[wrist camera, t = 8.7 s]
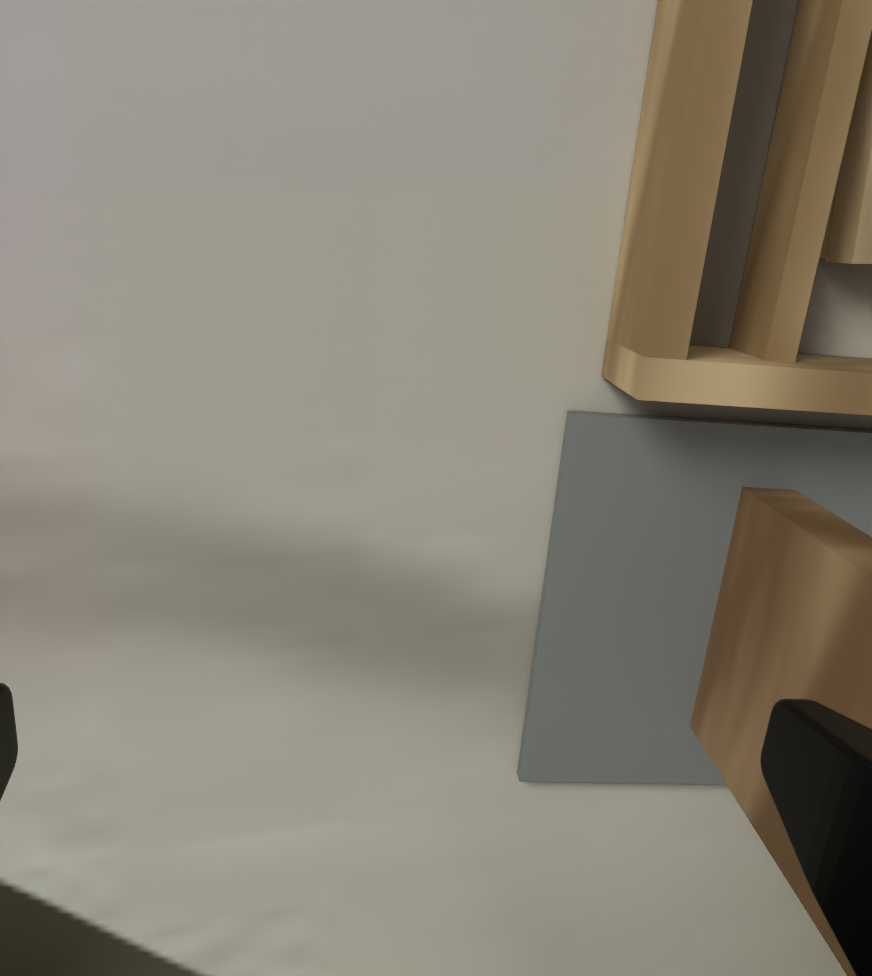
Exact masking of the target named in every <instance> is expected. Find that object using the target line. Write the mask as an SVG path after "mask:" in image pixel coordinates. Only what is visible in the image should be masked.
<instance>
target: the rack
mask: <svg viewBox="0 0 872 976" xmlns="http://www.w3.org/2000/svg"><path fill="white" fill-rule="evenodd" d="M752 2H753V0H658V4H657V11H656V18H655V24H654V31H653V38H652V44H651V51H650V57H649V64H648V71H647V77H646V84H645V91H644V97H643V104H642V110H641V117H640V124H639V130H638V137H637V144H636V150H635V157H634V163H633V170H632V177H631V183H630V190H629V197H628V203H627V210H626V216H625V223H624V230H623V236H622V243H621V250H620V256H619V263H618V270H617V276H616V283H615V289H614V296H613V303H612V309H611V316H610V323H609V329H608V336H607V342H606V349H605V356H604V362H603V369H602V377H603V378H605V379H606V380H608V381H609V382H611V383H612V384H614V385H615V386H617V387H618V388H620V389H621V390H623V391H625V392H626V393H628V394H629V395H631V396H632V397H634V398H635V399H637V400H647V401H662V402H677V403H692V404H707V405H722V406H737V407H752V408H767V409H783V410H798V411H813V412H828V413H843V414H858V415H872V359H868V358H855V357H841V356H828V355H814V354H801V353H797V352H798V348H799V343H800V339H801V335H802V330H803V326H804V322H805V317H806V313H807V309H808V304H809V300H810V296H811V291H812V287H813V282H814V278H815V274H816V269H817V265H818V261H819V256H820V252H821V248H822V243H823V239H824V235H825V230H826V226H827V222H828V217H829V213H830V209H831V204H832V200H833V196H834V191H835V187H836V183H837V178H838V174H839V169H840V165H841V161H842V156H843V152H844V148H845V143H846V139H847V135H848V130H849V126H850V122H851V117H852V113H853V109H854V104H855V100H856V96H857V91H858V87H859V83H860V78H861V74H862V70H863V65H864V61H865V57H866V52H867V48H868V43H869V39H870V35H871V30H872V0H799V3H798V8H797V13H796V17H795V22H794V27H793V32H792V37H791V42H790V47H789V52H788V57H787V62H786V67H785V72H784V77H783V82H782V87H781V92H780V97H779V102H778V107H777V112H776V117H775V122H774V127H773V132H772V137H771V142H770V147H769V151H768V156H767V161H766V166H765V171H764V176H763V181H762V186H761V191H760V196H759V201H758V206H757V211H756V216H755V221H754V226H753V231H752V236H751V241H750V246H749V251H748V256H747V261H746V266H745V271H744V276H743V280H742V285H741V290H740V295H739V300H738V305H737V310H736V315H735V320H734V325H733V330H732V335H731V340H730V345H729V348H720V347H706V346H693V345H689V343H690V337H691V332H692V327H693V321H694V316H695V310H696V305H697V299H698V294H699V289H700V283H701V278H702V272H703V267H704V262H705V256H706V251H707V245H708V240H709V235H710V229H711V224H712V218H713V213H714V208H715V202H716V197H717V191H718V186H719V181H720V175H721V170H722V164H723V159H724V153H725V148H726V143H727V137H728V132H729V126H730V121H731V116H732V110H733V105H734V99H735V94H736V89H737V83H738V78H739V72H740V67H741V62H742V56H743V51H744V45H745V40H746V35H747V29H748V24H749V18H750V13H751V7H752Z"/></svg>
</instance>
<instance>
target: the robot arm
mask: <svg viewBox="0 0 872 976" xmlns="http://www.w3.org/2000/svg"><path fill="white" fill-rule="evenodd" d="M17 753H18V742H17V733H16V724H15V716H14V707H13V698H12V694H11V691H10V689H9V687H8V686H6V685H5V684H4V683H0V800H1V798H2V796H3V793H4V791H5V789H6V786H7V784H8V781H9V779H10V777H11V774H12V772H13V769H14V767H15V763H16V760H17ZM760 763H761V770H762V774H763V777H764V780H765V782H766V785H767V787H768V789H769V792H770V794H771V797H772V799H773V801H774V804H775V806H776V809H777V811H778V813H779V816H780V818H781V821H782V823H783V825H784V828H785V830H786V833H787V835H788V837H789V840H790V842H791V845H792V847H793V849H794V852H795V854H796V857H797V859H798V861H799V864H800V866H801V869H802V871H803V873H804V876H805V878H806V880H807V882H808V884H809V887H810V889H811V891H812V893H813V895H814V897H815V899H816V901H817V903H818V905H819V907H820V909H821V911H822V913H823V915H824V917H825V919H826V920H827V922H828V924H829V926H830V928H831V930H832V932H833V933H834V935H835V937H836V939H837V941H838V943H839V945H840V947H841V948H842V950H843V952H844V954H845V956H846V958H847V960H848V962H849V963H850V965H851V967H852V969H853V971H854V973H855V975H856V976H872V729H871V728H869V727H867V726H865V725H863V724H861V723H859V722H857V721H855V720H853V719H851V718H849V717H847V716H844V715H842V714H840V713H838V712H836V711H834V710H832V709H830V708H828V707H826V706H824V705H822V704H820V703H818V702H816V701H814V700H809V699H780V700H779V701H777V702H776V703H775V704H774V706H773V708H772V711H771V715H770V719H769V723H768V727H767V731H766V735H765V739H764V743H763V747H762V751H761V758H760Z"/></svg>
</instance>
